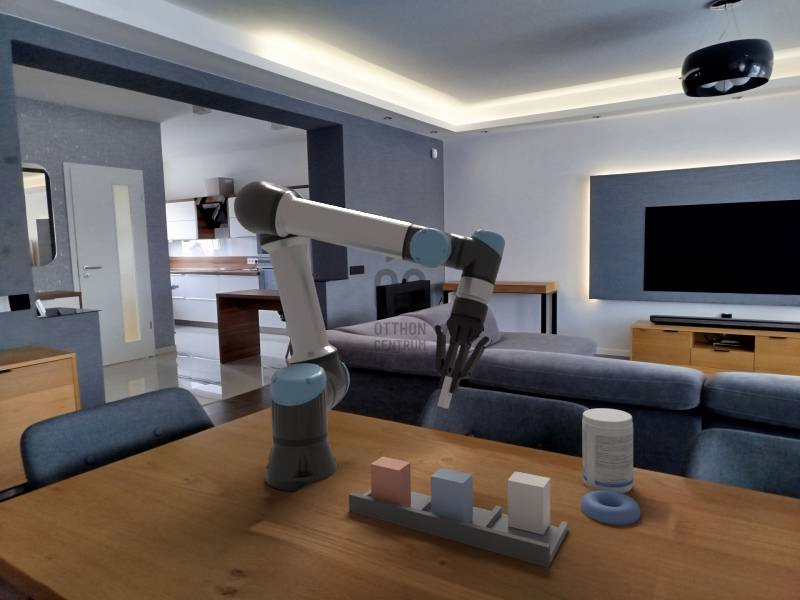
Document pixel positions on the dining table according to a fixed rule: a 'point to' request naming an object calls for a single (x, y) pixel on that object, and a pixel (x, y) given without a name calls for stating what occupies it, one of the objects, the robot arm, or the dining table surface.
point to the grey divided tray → (466, 527)
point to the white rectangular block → (529, 502)
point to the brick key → (391, 481)
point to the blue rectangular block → (452, 494)
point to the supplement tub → (607, 449)
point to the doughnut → (618, 512)
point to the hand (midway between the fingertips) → (442, 407)
